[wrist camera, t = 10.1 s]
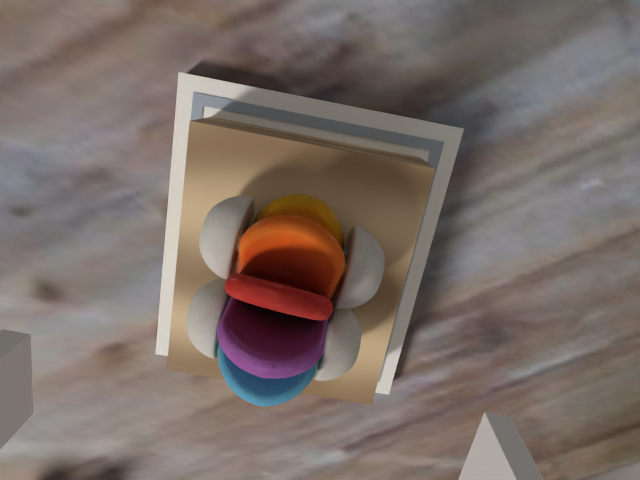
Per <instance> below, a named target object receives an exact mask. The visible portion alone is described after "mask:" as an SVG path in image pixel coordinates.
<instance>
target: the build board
mask: <svg viewBox="0 0 640 480" xmlns="http://www.w3.org/2000/svg"><path fill="white" fill-rule="evenodd" d="M207 117H215V118H220V119H225V120H231V121H236V122H241V123H246V124H251V125H256V126H261V127H266V128H272V129H277V130H282V131H287V132H292V133H297V134H302V135H307V136H313V137H318V138H323V139H328V140H333V141H338V142H343V143H348V144H354V145H359V146H364V147H369V148H374V149H379V150H384V151H389V152H395V153H400V154H405V155H410V156H415V157H420V158H421V159H423V160H424V161H426V162H427V163H429V164H430V165H431V166H433V167H434V168H436V170H435V173H434V177H433V181H432V184H431V188H430V192H429V195H428V199H427V203H426V206H425V210H424V214H423V217H422V221H421V225H420V228H419V232H418V236H417V240H416V243H415V247H414V251H413V254H412V258H411V262H410V265H409V269H408V273H407V276H406V280H405V284H404V287H403V291H402V295H401V298H400V302H399V306H398V310H397V313H396V317H395V321H394V324H393V328H392V332H391V335H390V339H389V343H388V346H387V350H386V354H385V357H384V361H383V365H382V369H381V372H380V376H379V380H378V383H377V387H376V391H375V392H376V393H381V394H387V395H389V392H390V388H391V385H392V381H393V378H394V374H395V371H396V367H397V364H398V360H399V356H400V353H401V349H402V346H403V342H404V339H405V335H406V332H407V328H408V325H409V321H410V318H411V314H412V311H413V307H414V304H415V300H416V297H417V293H418V289H419V286H420V282H421V279H422V275H423V272H424V268H425V265H426V261H427V258H428V254H429V251H430V247H431V244H432V240H433V237H434V233H435V229H436V226H437V222H438V219H439V215H440V212H441V208H442V205H443V201H444V198H445V194H446V191H447V187H448V184H449V180H450V177H451V173H452V170H453V166H454V162H455V159H456V155H457V152H458V148H459V145H460V141H461V138H462V134H463V131H464V129H463V128H459V127H454V126H449V125H444V124H439V123H434V122H429V121H424V120H419V119H414V118H409V117H404V116H399V115H394V114H389V113H384V112H379V111H374V110H369V109H364V108H358V107H353V106H348V105H343V104H338V103H333V102H328V101H323V100H318V99H313V98H308V97H303V96H298V95H293V94H288V93H283V92H278V91H273V90H268V89H263V88H258V87H253V86H248V85H243V84H237V83H232V82H227V81H222V80H217V79H212V78H207V77H202V76H197V75H192V74H187V73H181V72H179V76H178V89H177V101H176V113H175V125H174V137H173V149H172V161H171V173H170V186H169V198H168V210H167V222H166V234H165V246H164V258H163V270H162V283H161V295H160V307H159V319H158V331H157V343H156V354H158V355H164V356H168V348H169V338H170V327H171V316H172V305H173V294H174V284H175V273H176V262H177V251H178V240H179V230H180V219H181V208H182V197H183V186H184V176H185V165H186V154H187V143H188V132H189V122H190V120H196V119H201V118H207Z"/></svg>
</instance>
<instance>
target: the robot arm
mask: <svg viewBox="0 0 640 480" xmlns="http://www.w3.org/2000/svg"><path fill="white" fill-rule="evenodd" d="M32 414H33V395H32V367H31V339H30V334H26V333H20V332H14V331H9V330H1V331H0V449H1V448H2V447H3V446H4V444H5V443H6V442H7V441H8V440H9V439H10V438H11V437H12V436H13V435H14V433H15V432H16V431H17V430H18V429H19V428H20V427H21V426H22V425H23V424H24V422H25V421H26V420H27V419H28V418H29V417H30V416H31V415H32ZM459 480H544V479H543V477H542V475H541V473H540V471H539V469H538V467H537V466H536V464H535V462H534V460H533V458H532V456H531V455H530V453H529V451H528V449H527V447H526V445H525V443H524V442H523V440H522V438H521V436H520V434H519V432H518V431H517V429H516V427H515V425H514V423H513V421H512V419H511V418H510V416H504V415H498V414H492V413H487V412H484V415H483V417H482V420H481V423H480V425H479V428H478V430H477V433H476V436H475V438H474V441H473V443H472V446H471V449H470V451H469V454H468V456H467V459H466V462H465V464H464V467H463V469H462V472H461V475H460V477H459Z"/></svg>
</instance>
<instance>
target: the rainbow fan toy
mask: <svg viewBox="0 0 640 480" xmlns="http://www.w3.org/2000/svg"><path fill="white" fill-rule="evenodd" d="M254 207H255V200H254V199H253V198H252V197H250V196H235V197H231V198H227V199H225V200H223V201H221V202H219V203H218V204H216V205H215V206H214V207H212V209H211V210H210V211H209V212H208V214H207V216H206V218H205V221H204V223H203V226H202V229H201V233H200V239H199V249H200V252H201V255H202V257H203V259H204V261H205V263H206V264H207V266H208V267H209V268H210V269H211V270H212V271H213V272H214V273H215V274H217V275H218V276H220V277H221V278H220V279H216V280H213V281H211V282H209V283H207V284H205V285H204V286H203V287H201V288H200V289H199V290H198V291H197V292H196V294H195V295H194V297H193V299H192V301H191V304H190V306H189V310H188V313H187V318H186V330H187V333H188V336H189V338H190V340H191V342H192V344H193V345H194V346H195V347H196V348H197V350H199V351H200V352H201V353H202V354H204V355H206V356H207V357H210V358H212V359H215V358H217V357H218V362H219V367H220V370H221V373H222V375H223V377H224V379H225V381H226V383H227V384H228V386H229V387H230V388H231V389H232V390H233V391H234V392H235V393H236V394H237V395H238V396H239V397H241V398H242V399H244V400H246V401H248V402H250V403H252V404H255V405H258V406H274V405H277V404H281V403H284V402H286V401H289V400H291V399H292V398H294V397H295V396H297V395H298V394H299V393H300V392H302V391H303V390H304V389H305V388H306V387H307V385H308V384H309V383H310V382H311V380H312V379H313V377H314V379H315V380H318V381H327V380H332V379H335V378H338V377H340V376H342V375H344V374H345V373H346V372H348V371H349V370H350V369H351V368H352V367H353V365H354V364H355V362H356V359H357V357H358V353H359V349H360V344H361V336H362V335H361V327H360V324H359V321H358V319H357V318H356V316H355V315H354V313H353V312H352V311H351V310H350V309H349V308H354V307H357V306H360V305H362V304H364V303H365V302H367V301H368V300H370V299H371V298H372V297H373V296H374V295H375V293H376V292H377V290H378V288H379V285H380V283H381V280H382V276H383V271H384V264H385V257H384V253H383V250H382V248H381V246H380V244H379V243H378V241H377V240H376V239H375V237H374V236H373V235H372V234H371V233H369V232H368V231H367V230H365V229H363V228H361V227H359V226H354V227H353V228H352V229H351V231H350V233H349V235H348V238H347V241H346V243H345V245H344V232H343V231H342V229H341V226H340V223H339V221H338V219H337V217H336V215H335V214H334V212H333V211H332V210H331V209H330V208H329V207H328V206H327V205H326V204H325V203H324V202H323V201H321V200H320V199H318V198H316V197H313V196H310V195H304V194H294V195H287V196H284V197H281V198H278V199H276V200H274V201H273V202H271V203H269V204H268V205H267V206H265V207H264V208H263V209H262V210H260V211H259V212H258V213H257V215H256V217H255V220H254V223H253V225H252V220H253V216H254ZM251 225H252V226H251Z"/></svg>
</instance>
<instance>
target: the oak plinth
mask: <svg viewBox="0 0 640 480" xmlns="http://www.w3.org/2000/svg"><path fill="white" fill-rule="evenodd" d="M435 170H436V168H434V167H433V166H431V165H430V164H429V163H427V162H426V161H424V160H423V159H421V158H420V157H415V156H410V155H405V154H400V153H395V152H389V151H384V150H379V149H374V148H369V147H364V146H359V145H354V144H348V143H343V142H338V141H333V140H328V139H323V138H318V137H313V136H307V135H302V134H297V133H292V132H287V131H282V130H277V129H272V128H266V127H261V126H256V125H251V124H246V123H241V122H236V121H231V120H225V119H220V118H215V117H207V118H201V119H196V120H190V122H189V132H188V143H187V154H186V165H185V176H184V186H183V197H182V208H181V219H180V230H179V240H178V251H177V262H176V273H175V284H174V294H173V305H172V316H171V327H170V338H169V348H168V359H167V369H168V370H174V371H180V372H186V373H191V374H197V375H203V376H209V377H214V378H220V379H224V377H223V375H222V373H221V370H220V367H219V362H218V357H217V358H215V359H212V358H210V357H207V356H206V355H204V354H202V353H201V352H200V351H199V350H197V348H196V347H195V346H194V345H193V344H192V342H191V340H190V338H189V336H188V333H187V330H186V318H187V313H188V310H189V306H190V304H191V301H192V299H193V297H194V295H195V294H196V292H197V291H198V290H199V289H200V288H201V287H203V286H204V285H205V284H207V283H209V282H211V281H213V280H216V279H220V278H221V277H220V276H218V275H217V274H215V273H214V272H213V271H212V270H211V269H210V268H209V267H208V266H207V264H206V263H205V261H204V259H203V257H202V255H201V252H200V249H199V239H200V233H201V229H202V226H203V223H204V221H205V218H206V216H207V214H208V212H209V211H210V210H211V209H212V207H214V206H215V205H216V204H218V203H219V202H221V201H223V200H225V199H227V198H231V197H235V196H250V197H252V198H253V199H254V200H255V207H254V216H253V220H252V225H253V223H254V220H255V217H256V215H257V213H258V212H259V211H260V210H262V209H263V208H264V207H265V206H267V205H268V204H269V203H271V202H273V201H274V200H276V199H278V198H281V197H284V196H287V195H294V194H304V195H310V196H313V197H316V198H318V199H320V200H321V201H323V202H324V203H325V204H326V205H327V206H328V207H329V208H330V209H331V210H332V211H333V212H334V214H335V215H336V217H337V219H338V221H339V223H340V226H341V229H342V231H343V232H344V245H345V243H346V241H347V238H348V235H349V233H350V231H351V229H352V228H353V227H354V226H359V227H361V228H363V229H365V230H367V231H368V232H369V233H371V234H372V235H373V236H374V237H375V239H376V240H377V241H378V243H379V244H380V246H381V248H382V250H383V253H384V257H385V264H384V271H383V276H382V280H381V283H380V285H379V288H378V290H377V292H376V293H375V295H374V296H373V297H372V298H371V299H370V300H368V301H367V302H365V303H364V304H362V305H360V306H357V307H354V308H349V309H350V310H351V311H352V312H353V313H354V315H355V316H356V318H357V319H358V321H359V324H360V327H361V335H362V336H361V344H360V349H359V353H358V357H357V359H356V362H355V364H354V365H353V367H352V368H351V369H350V370H349V371H348V372H346V373H345V374H344V375H342V376H340V377H338V378H335V379H332V380H327V381H318V380H315V379H314V377H313V379H312V380H311V382H310V383H309V384H308V385H307V387H306V388H305V389H304V390H303V391H302V392H301V393H306V394H312V395H318V396H324V397H330V398H335V399H341V400H347V401H353V402H358V403H364V404H370V405H372V402H373V398H374V394H375V391H376V387H377V383H378V380H379V376H380V372H381V369H382V365H383V361H384V357H385V354H386V350H387V346H388V343H389V339H390V335H391V332H392V328H393V324H394V321H395V317H396V313H397V310H398V306H399V302H400V298H401V295H402V291H403V287H404V284H405V280H406V276H407V273H408V269H409V265H410V262H411V258H412V254H413V251H414V247H415V243H416V240H417V236H418V232H419V228H420V225H421V221H422V217H423V214H424V210H425V206H426V203H427V199H428V195H429V192H430V188H431V184H432V181H433V177H434V173H435ZM252 225H251V226H252Z"/></svg>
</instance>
